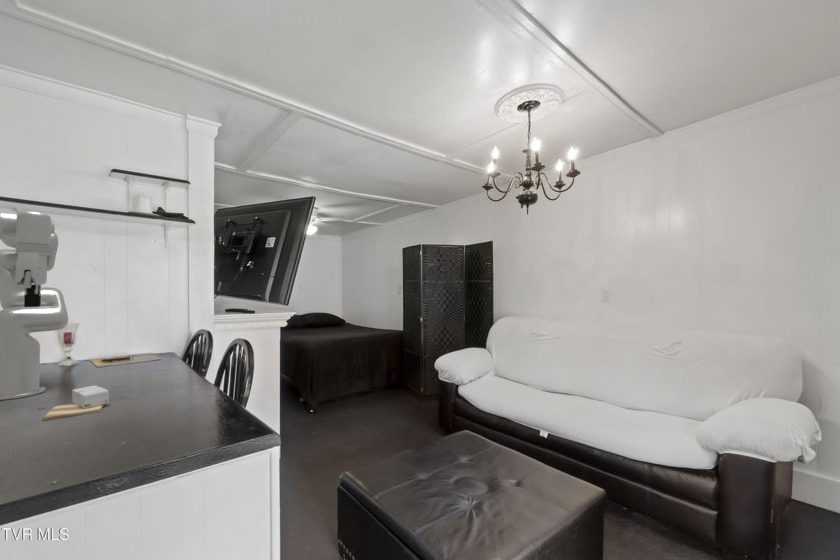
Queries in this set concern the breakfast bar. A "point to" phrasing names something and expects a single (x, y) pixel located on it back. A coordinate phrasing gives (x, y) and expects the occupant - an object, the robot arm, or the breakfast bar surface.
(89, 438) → the breakfast bar surface
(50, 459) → the breakfast bar surface
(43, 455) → the breakfast bar surface
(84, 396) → the skincare box
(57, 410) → the brass plate
